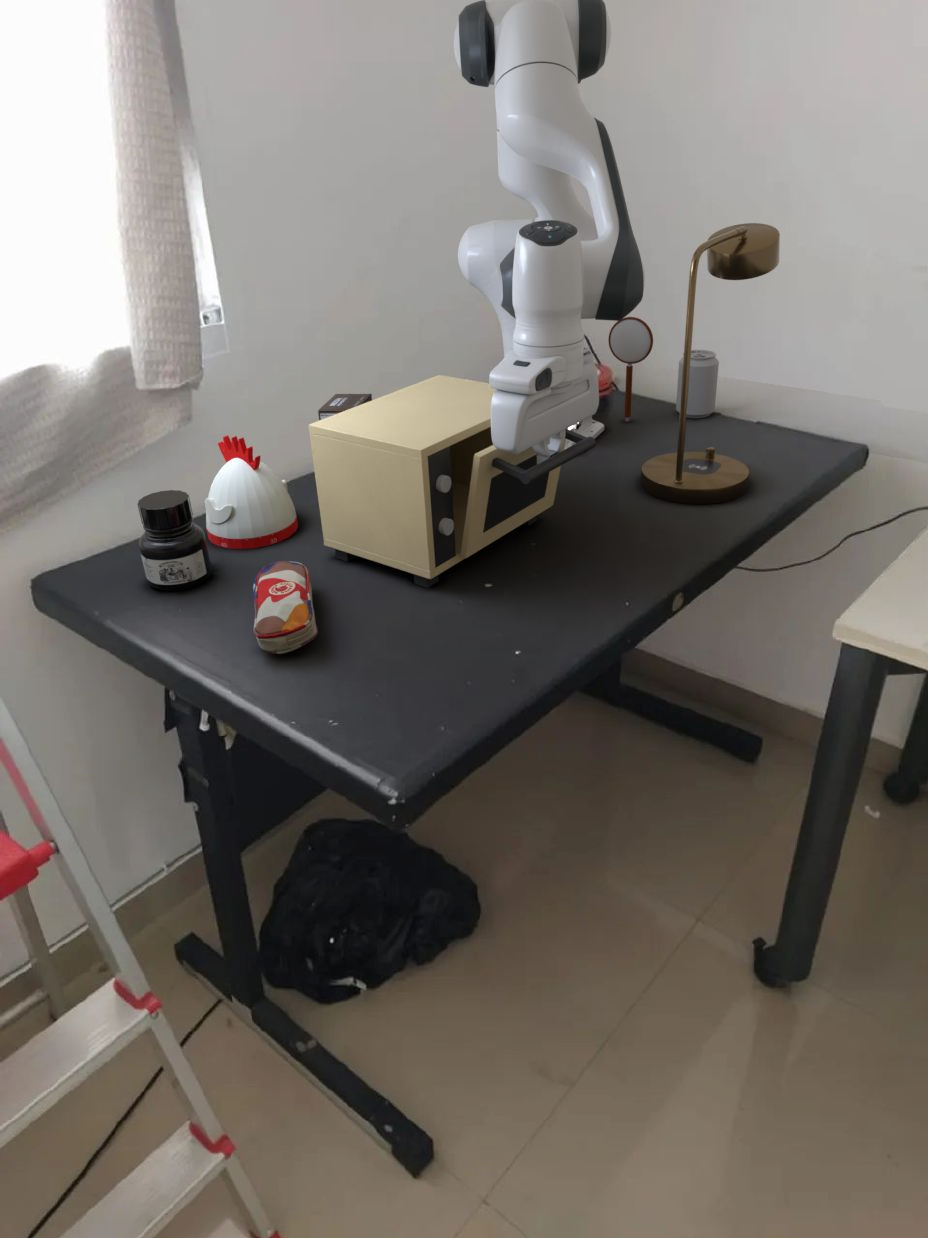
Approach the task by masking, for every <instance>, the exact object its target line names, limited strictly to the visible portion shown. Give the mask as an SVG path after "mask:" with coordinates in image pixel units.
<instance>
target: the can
mask: <svg viewBox="0 0 928 1238" xmlns="http://www.w3.org/2000/svg"><path fill="white" fill-rule="evenodd" d="M716 356H717V353H716V352H715V351H713V350H708V349H691V361H690V375H689V389H688V402H687V416H686V418H689V419H703V418H707V417H709V416H710V415H711V414H713V413H714V412H715V410H716V400H717V389H718V376H719V367H720V366H719V365H720V361H719V360H718V358H717V357H716ZM683 360H684V352H682V357H681V358H680V359H679V361H678V371H677V372H678V373H677V385H676V386H677V388H676V399H675V400H676V401H675V402H676V403H675V410H676V412H678V414H680V404H681V389H682V374H683Z"/></svg>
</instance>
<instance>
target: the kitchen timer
mask: <svg viewBox="0 0 928 1238" xmlns="http://www.w3.org/2000/svg"><path fill="white" fill-rule="evenodd" d="M217 446H218V449H219V451H220V453H221V455H222V456H223V458H224V461H225V464H224V465H222V467H221V468H220V469H219V470H218V472H217V473H216V475H215V476H214V478H213V481H212V482H211V486H210V488H209V492H208V495H207V497H206V498H205V499H204V509H205V528H206V534H207V538H208V540H209V541H210V542H211V544H213V545H216V546H217V547H220V548H225V549H231V550H232V549H233V550H246V549H248V550H249V549H257V548H262V547H263V548H264V547H267V546H270V545H274V544H276V543H280V542H283V541H284V540H286V539H288V538H290V537H291V536H292V535H293V534H295V533H296V532H297V529H298V528H299V522H298V517H297V512H296V507H295V505H294V502H293V500H292V498H291V495H290V493H289V491H288V488H289V487H288V483H287V481H286V480H285V479H281V478H280V477H279V476H278V475H277V474H276V473H275V472H274V471H273V469H271V468H270V467H269V466H268V465H267V464H266V463H264V462H263V461H261V455H257V456H255V457H254V454H253V453H254V447H253V445H251V446H249V447H247V444H246V440H245V438H244V437H240V438H238V436H237V435H235V436H233V437H230V436H229V435H228V434H227V435H224V436H222V441H219V442H217Z"/></svg>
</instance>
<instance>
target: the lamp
mask: <svg viewBox="0 0 928 1238" xmlns="http://www.w3.org/2000/svg"><path fill="white" fill-rule="evenodd" d="M780 234H781V233H780V231H779V230H778V229H777V228H776V227H774V226H773V225H770V224H767V223H765V224H764V223H761V222H759V223H758V222H757V223H756V222H747V223H739V224H734V225H729V226H726V227H724V228H722V229H719V230H717V231H715V232H714V233H712V234H711V235H710V236H709V237H708V239H707V240H706V241H704V242H703V243H701V244H700V245H699V246H698V247H696V249H695V251H694V253H693V254H692V259H691V262H690V268H689V276H688V277H689V278H688V287H687V288H688V289H687V303H686V304H687V305H686V317H685V331H684V332H685V333H684V345H683V346H684V347H683V353H684V360H683V374H682V389H681V404H680V413H679V419H678V434H677V451H676V452H670V453H664V454H659V455H657V456H654V457H652V458H650V459H648V460H646V461H645V462H644V463H643V464H642V466H641V471H640V472H641V473H640V486H641V488H642V489H643V490H644V491H645V492H647V493H648V494H649V495H651V496H652V497H655V498H658V499H660V500H663V501H667V502H671V503H672V502H673V503H678V504H685V505H686V504H687V505H712V504H720V503H725V502H728V501H732V500H735V499H737V498H739V497H742V496H743V495H745V493H747V490H748V489H749V488H748V487H749V479H750V470H749V468H748V466H747V465H746V464H745V463H743V462H741V461H740V460H737V459H736V458H733V457H730V456H727V455H723V454H718V453H715V450H716V449H715V448H716V447H713V446H708V447H706V451H685V443H686V429H687V417H686V416H687V402H688V389H689V375H690V361H691V350H692V343H693V333H694V332H693V331H694V320H695V319H694V317H695V306H696V305H695V304H696V293H697V292H696V289H697V279H698V268H699V263H700V260H701V258H702V255H703V254H704V252H705V251H706V255H707V256H706V257H707V258H706V260H707V262H706V263H707V271H708V274H710V275H711V276H712V277H715V278H717V279H721V280H726V281H744V280H750V279H755V278H759V277H762V276H764V275H767V274H768V273H771V272H772V271H773V270H775V269H776V268H777V267H778V266H779V264H780V246H781V245H780V240H781V238H780V236H781V235H780Z"/></svg>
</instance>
